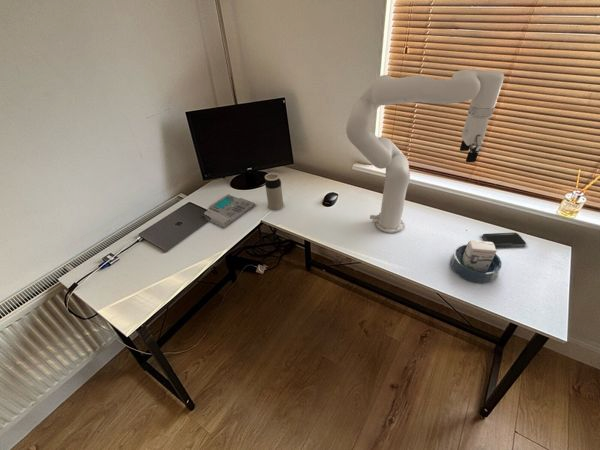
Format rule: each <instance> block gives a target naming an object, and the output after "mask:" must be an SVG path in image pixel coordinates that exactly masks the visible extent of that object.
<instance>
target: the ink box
mask: <svg viewBox="0 0 600 450" xmlns="http://www.w3.org/2000/svg"><path fill="white" fill-rule="evenodd" d="M466 244H467V247H466V249H465V252H464V255H463V257H462V260H461V264H462V265H463V266H465V267H467V268H469V269H471V270H473V271H477V272H487V270H488V268H489V266H490V264H491V262H492V260H493V258H494V255H495V254H497V252H498V250H497V248H495V245H494V243H493V242H486V241H484V240H475V239H474V240H472V239H471V240H468V242H467V243H466Z"/></svg>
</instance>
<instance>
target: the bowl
mask: <svg viewBox="0 0 600 450" xmlns="http://www.w3.org/2000/svg"><path fill="white" fill-rule="evenodd" d="M467 244H468V243H464V244H461V245H459V246H457V247H456V248H455V249H454V251H453V254H452V256H451V259H450V265H451V269H452V270H453V271H454V273H455V274H457V275H458V276H459V277H460V278H461V279H464V280H466V281H467V282H468V281H469V282H472V283H475V284H487V283H491V282H493V281H494V280H495V279H496V278H497V276H498V274H499V272H500V270H501V268H502V260H501V258H500V257H499V255H498V254H497V253H495V255H494V258H493V260H492V262H491V264H490V266H489V268H488V270H487V272H477V271H473V270H471V269H469V268H467V267H465V266H463V265H462V264H461V260H462V257H463V255H464V252H465V249H466V247H467Z"/></svg>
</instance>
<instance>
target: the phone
mask: <svg viewBox="0 0 600 450" xmlns="http://www.w3.org/2000/svg"><path fill="white" fill-rule="evenodd" d="M481 238H482V239H483V241H486V242H493V243H494V245H495V248H496V249H497V248H513V247H514V248H517V247H518V248H519V247H520V248H521V247H525V246H526V245H527V242H526V241H525V240H524V239H523V238H522V237H521V236H520V234H519V233H517V232H497V233H496V232H495V233H494V232H493V233H483V234H482V236H481Z"/></svg>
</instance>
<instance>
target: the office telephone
mask: <svg viewBox="0 0 600 450" xmlns="http://www.w3.org/2000/svg"><path fill="white" fill-rule="evenodd" d="M255 206H256V203H255V202H253V201H250V200H248V199H246V198H242V197H236V196H234V195H231V194H230V193H228V194H226V195H224V196H222V197H221V198H220V199H218V200H216V201H215V202H213V203H212V204H210V205H209V206H208V208H209V209H207V210H205V211H204V212H203V213H204V214H205V215H207V216H209V217H210V218H211V220H209V219H207V218H206V219H205V220H207V221H208V222H210V223H212V224H214V225H216V226H218V227H220V228H222V229H225V228H227V227H228V226H230V225H231V224H232V223H233V222H235V221H236V220H238V219H239V218H240V217H241V216H243V215H244V214H246V213H247V212H248V211H249V210H251V209H252V208H254V207H255Z"/></svg>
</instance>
